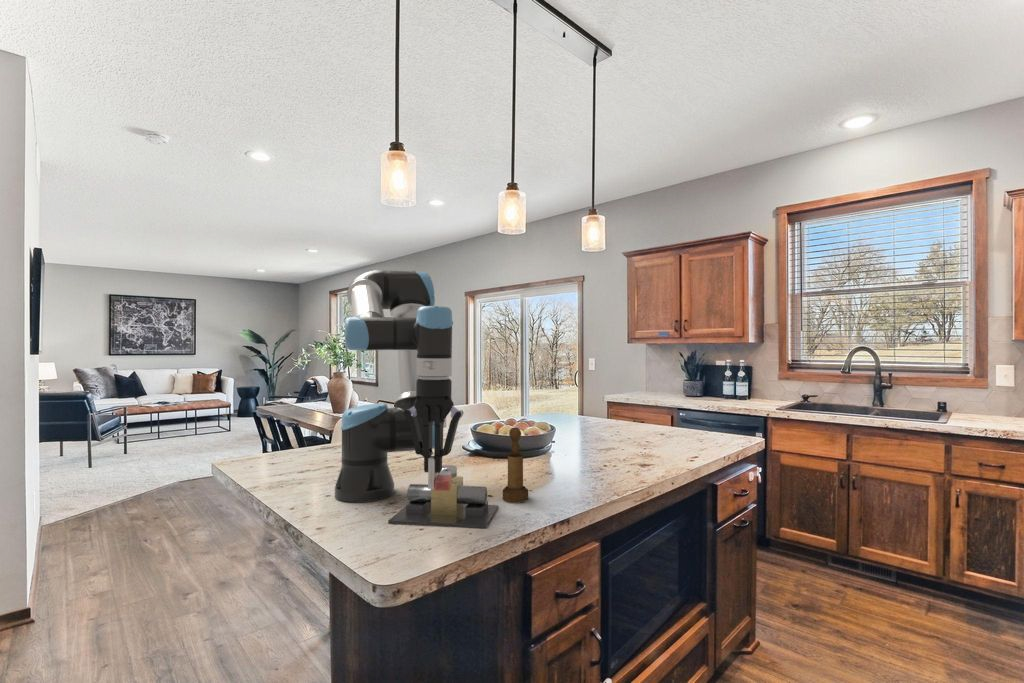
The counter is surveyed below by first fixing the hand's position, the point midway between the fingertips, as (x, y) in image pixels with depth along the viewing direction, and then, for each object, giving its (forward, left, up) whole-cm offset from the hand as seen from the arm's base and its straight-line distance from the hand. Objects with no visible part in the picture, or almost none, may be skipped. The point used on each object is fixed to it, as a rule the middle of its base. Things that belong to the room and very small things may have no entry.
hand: (432, 487), depth 110 cm
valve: (+1, +7, -8) cm, 11 cm away
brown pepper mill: (+15, +22, -9) cm, 28 cm away
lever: (+2, +4, 0) cm, 4 cm away
